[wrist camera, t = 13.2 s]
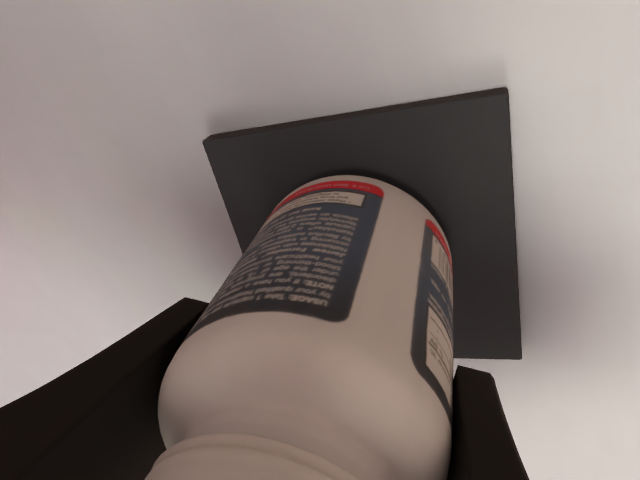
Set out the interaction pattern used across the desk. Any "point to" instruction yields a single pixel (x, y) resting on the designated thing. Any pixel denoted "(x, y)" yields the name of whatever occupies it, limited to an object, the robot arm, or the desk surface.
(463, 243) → the coaster
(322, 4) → the desk surface
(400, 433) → the pill bottle
